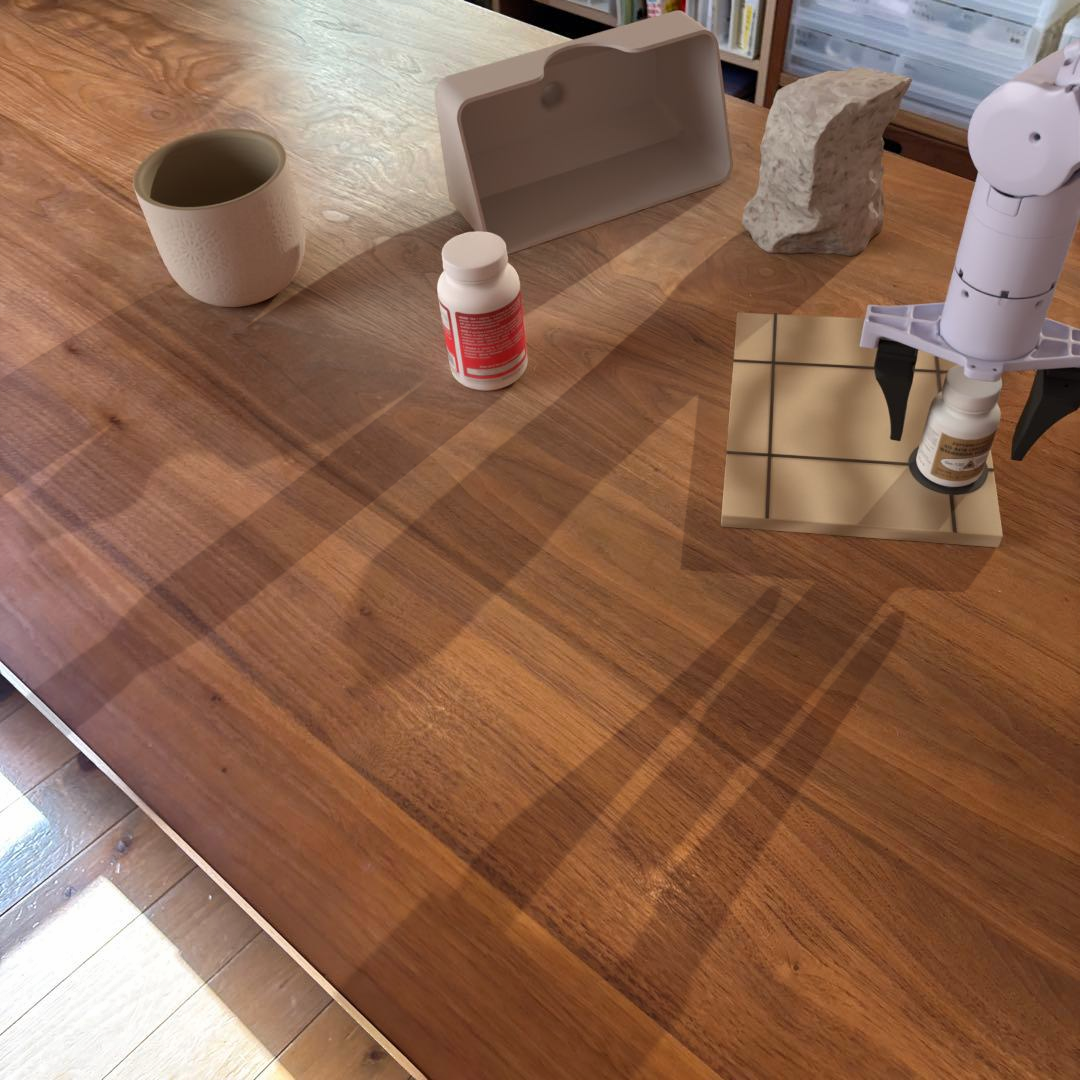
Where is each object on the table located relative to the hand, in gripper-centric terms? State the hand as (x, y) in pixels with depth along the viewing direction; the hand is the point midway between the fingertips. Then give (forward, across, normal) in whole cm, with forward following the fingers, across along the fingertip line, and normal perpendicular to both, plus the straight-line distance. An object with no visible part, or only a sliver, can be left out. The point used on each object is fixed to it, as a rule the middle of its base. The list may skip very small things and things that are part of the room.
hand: (956, 440), depth 74 cm
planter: (+4, -60, +10) cm, 61 cm away
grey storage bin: (+4, -36, +32) cm, 48 cm away
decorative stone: (+4, -13, +27) cm, 31 cm away
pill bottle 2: (+3, 0, 0) cm, 3 cm away
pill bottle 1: (+4, -35, +4) cm, 35 cm away
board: (+4, -7, +4) cm, 9 cm away
